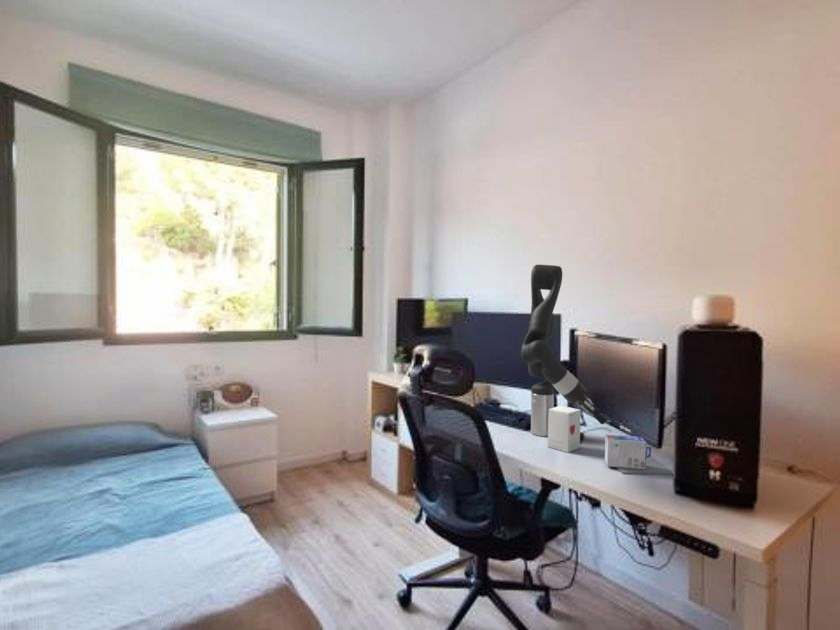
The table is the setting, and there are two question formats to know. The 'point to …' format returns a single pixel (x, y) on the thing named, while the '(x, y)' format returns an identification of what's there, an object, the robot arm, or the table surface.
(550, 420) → the supplement box
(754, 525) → the table surface
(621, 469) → the mat
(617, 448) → the ink cartridge box
